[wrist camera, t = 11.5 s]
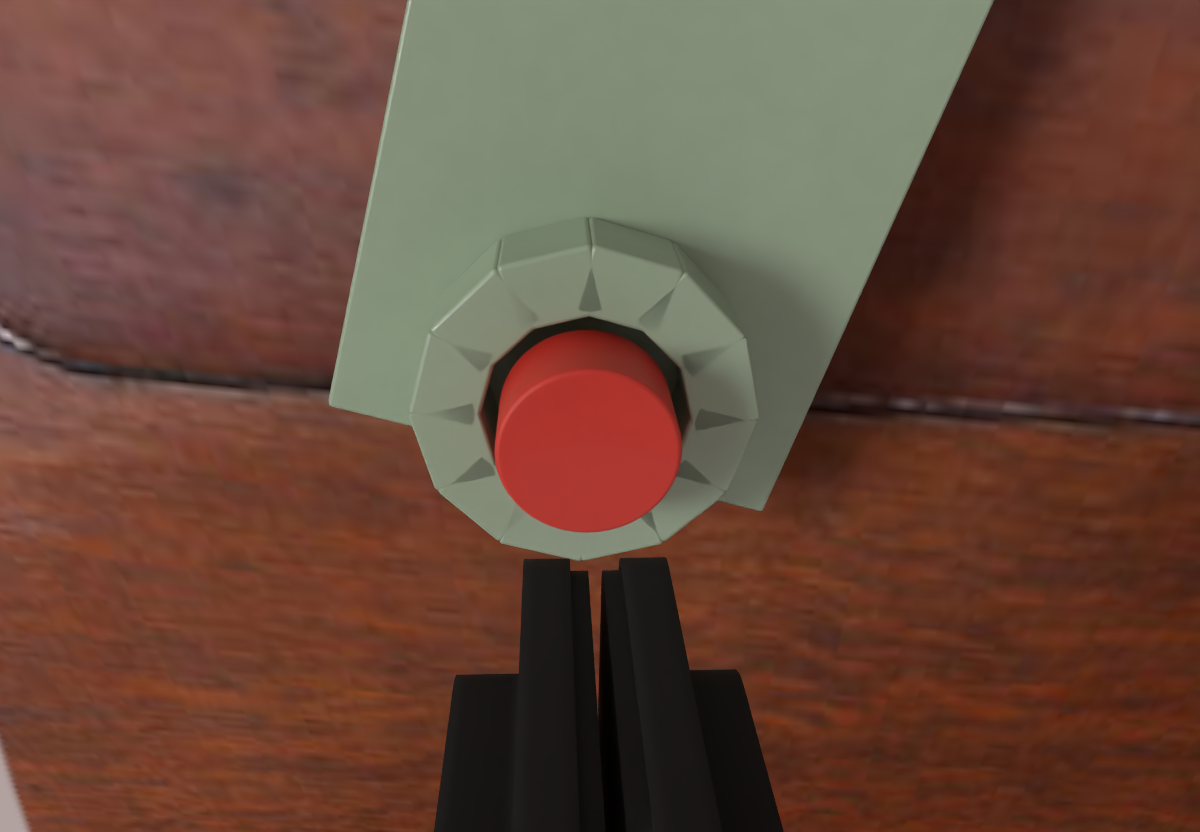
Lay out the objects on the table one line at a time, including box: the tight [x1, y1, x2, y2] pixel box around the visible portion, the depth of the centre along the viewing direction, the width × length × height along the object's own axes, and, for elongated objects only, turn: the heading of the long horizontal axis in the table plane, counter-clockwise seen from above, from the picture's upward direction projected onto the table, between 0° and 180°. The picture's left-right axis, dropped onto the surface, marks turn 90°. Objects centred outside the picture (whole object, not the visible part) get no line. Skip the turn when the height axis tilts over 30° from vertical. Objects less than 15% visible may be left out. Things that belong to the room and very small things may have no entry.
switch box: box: [328, 0, 994, 561], centre depth 15 cm, size 17×9×4 cm, turn 163°
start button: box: [494, 330, 682, 533], centre depth 15 cm, size 3×3×2 cm
